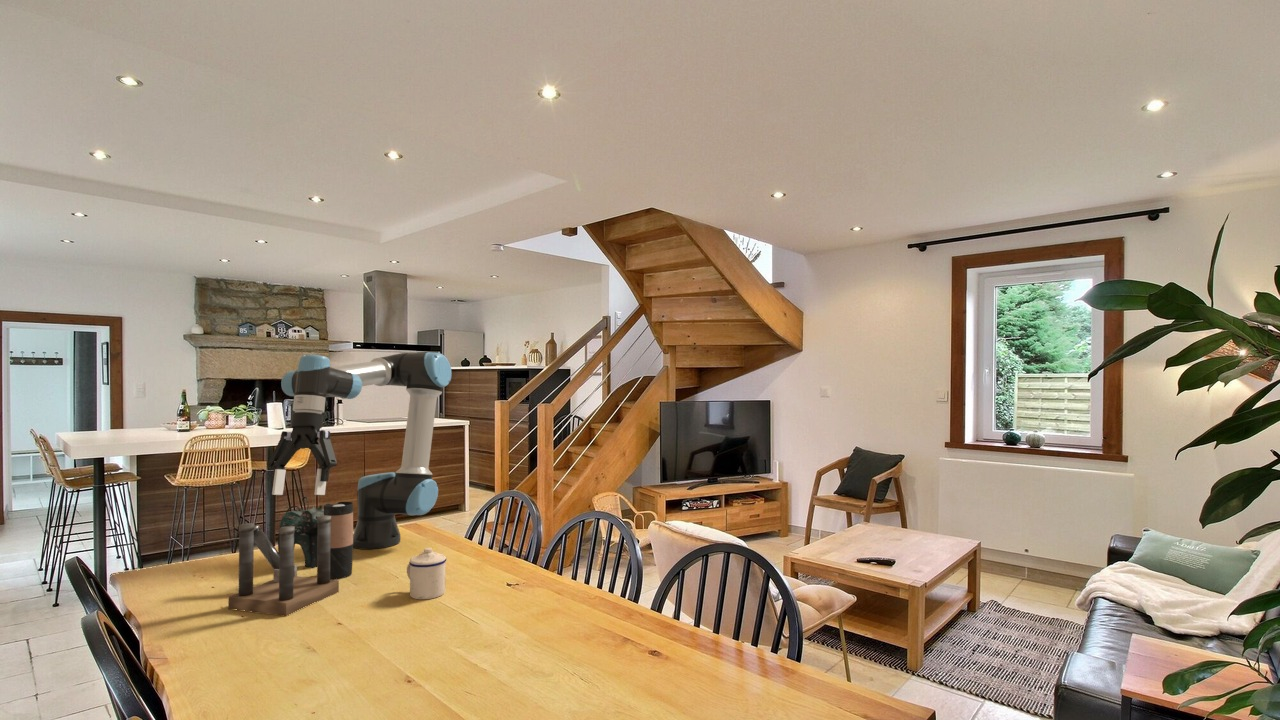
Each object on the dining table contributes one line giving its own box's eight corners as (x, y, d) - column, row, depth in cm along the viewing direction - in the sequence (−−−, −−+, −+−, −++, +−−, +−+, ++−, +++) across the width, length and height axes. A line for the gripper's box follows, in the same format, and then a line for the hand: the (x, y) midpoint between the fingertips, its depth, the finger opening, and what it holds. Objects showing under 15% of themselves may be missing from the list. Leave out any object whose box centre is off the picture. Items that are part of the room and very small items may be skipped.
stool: (338, 591, 164) (339, 515, 165) (286, 616, 148) (287, 530, 148) (285, 586, 169) (286, 511, 169) (228, 609, 152) (229, 526, 153)
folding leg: (293, 566, 167) (261, 523, 170) (283, 569, 164) (250, 526, 167) (286, 574, 167) (254, 531, 170) (276, 578, 164) (243, 534, 167)
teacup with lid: (453, 591, 164) (454, 546, 164) (426, 602, 156) (426, 555, 156) (421, 584, 170) (421, 540, 170) (393, 594, 162) (393, 548, 162)
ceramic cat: (329, 565, 187) (329, 497, 187) (307, 571, 182) (308, 501, 182) (291, 555, 198) (292, 491, 198) (270, 560, 192) (271, 494, 193)
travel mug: (344, 580, 174) (345, 506, 174) (317, 579, 174) (317, 506, 174) (357, 571, 181) (358, 501, 182) (331, 571, 181) (332, 501, 182)
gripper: (259, 412, 168) (247, 494, 163) (336, 409, 160) (326, 494, 156) (282, 416, 175) (272, 494, 170) (357, 413, 167) (348, 495, 163)
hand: (298, 495), depth 163 cm, fingers open, 13 cm apart
